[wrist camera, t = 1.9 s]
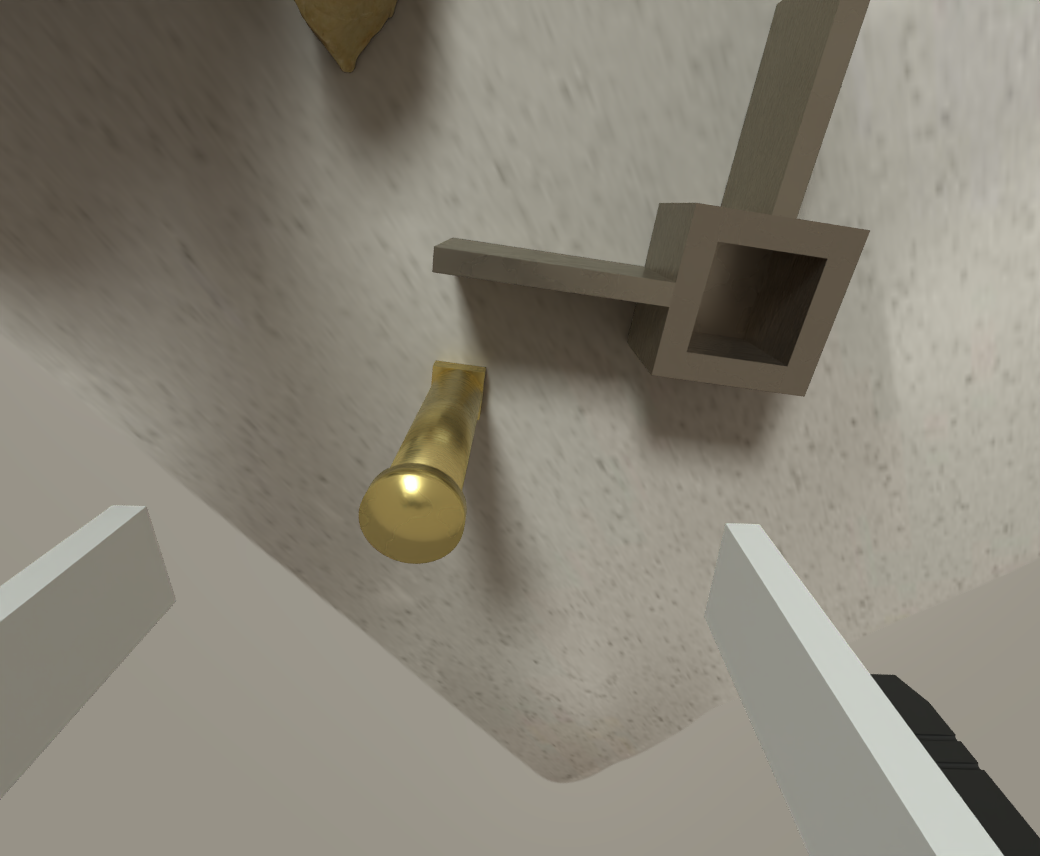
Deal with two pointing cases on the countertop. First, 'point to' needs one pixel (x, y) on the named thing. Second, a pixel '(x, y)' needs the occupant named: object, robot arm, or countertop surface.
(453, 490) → the hinge pin
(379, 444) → the countertop surface
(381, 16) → the rock
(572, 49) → the countertop surface
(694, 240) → the hinge
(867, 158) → the countertop surface
